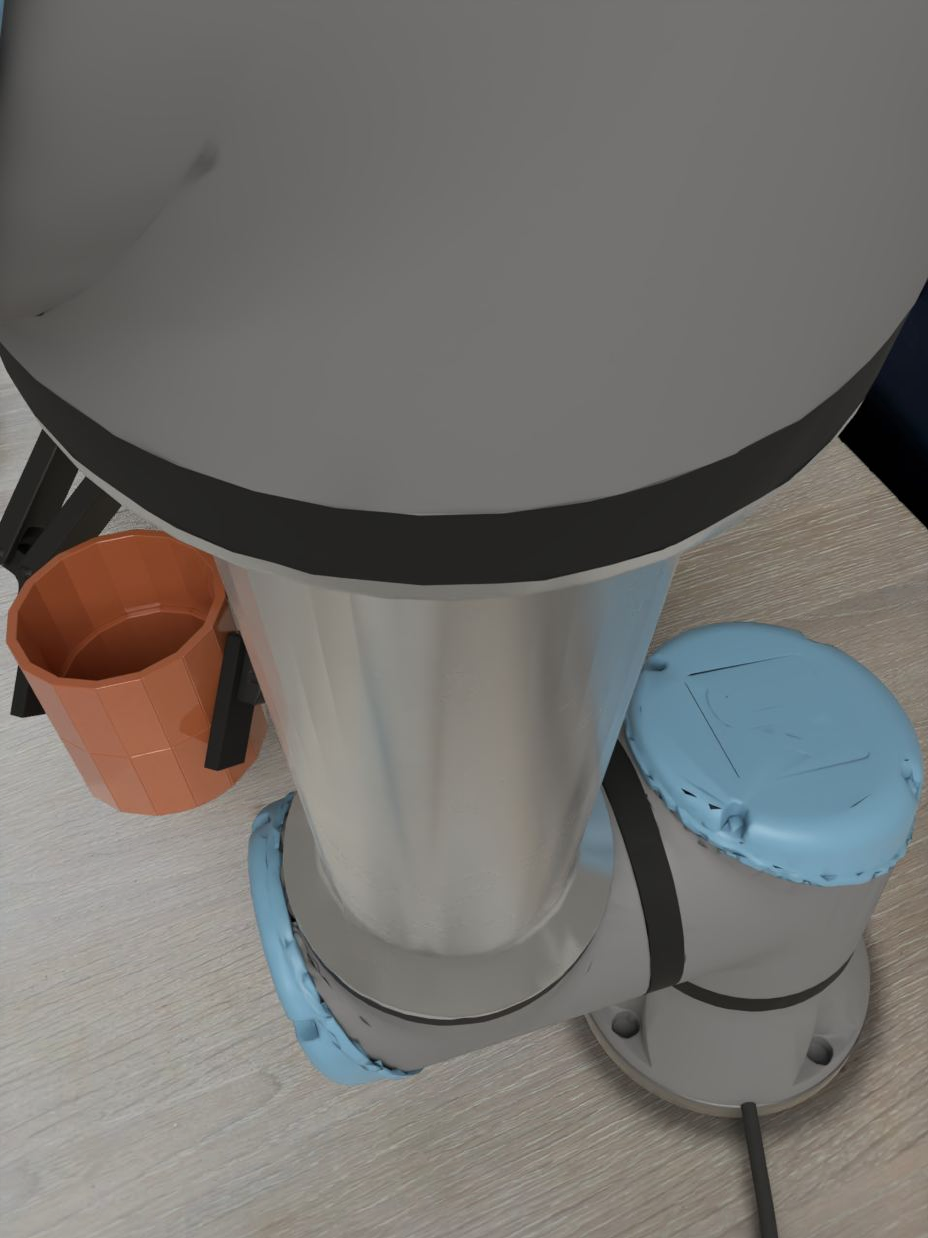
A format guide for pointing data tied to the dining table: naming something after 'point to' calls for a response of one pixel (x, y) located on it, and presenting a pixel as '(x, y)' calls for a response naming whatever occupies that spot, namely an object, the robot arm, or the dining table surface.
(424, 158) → the robot arm
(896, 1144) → the dining table surface
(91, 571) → the orange faceted hollow container
